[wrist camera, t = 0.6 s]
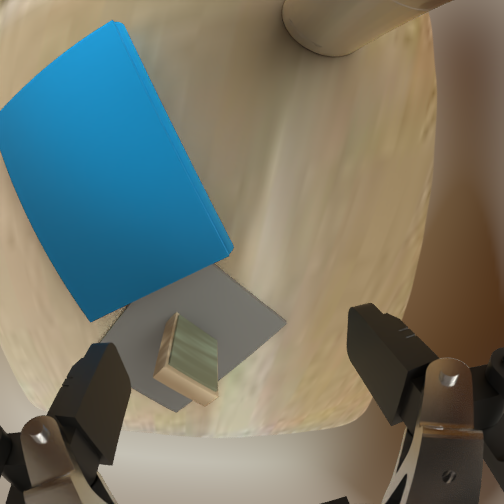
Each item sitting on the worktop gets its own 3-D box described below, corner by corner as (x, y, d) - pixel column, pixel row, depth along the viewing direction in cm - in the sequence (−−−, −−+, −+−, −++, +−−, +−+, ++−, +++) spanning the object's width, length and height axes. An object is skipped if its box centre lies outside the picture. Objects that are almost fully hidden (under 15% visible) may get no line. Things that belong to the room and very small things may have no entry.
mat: (184, 239, 29) (183, 240, 29) (285, 320, 34) (286, 323, 33) (89, 356, 33) (88, 358, 33) (176, 409, 38) (176, 412, 37)
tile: (177, 310, 31) (166, 364, 23) (219, 339, 33) (220, 395, 25) (166, 322, 32) (152, 377, 23) (206, 350, 34) (205, 406, 25)
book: (91, 324, 26) (-13, 122, 18) (104, 304, 31) (10, 122, 22) (237, 252, 25) (115, 14, 17) (235, 237, 29) (128, 29, 21)
